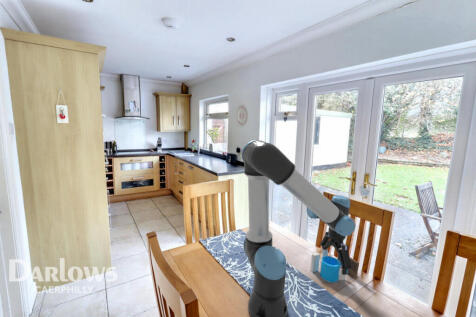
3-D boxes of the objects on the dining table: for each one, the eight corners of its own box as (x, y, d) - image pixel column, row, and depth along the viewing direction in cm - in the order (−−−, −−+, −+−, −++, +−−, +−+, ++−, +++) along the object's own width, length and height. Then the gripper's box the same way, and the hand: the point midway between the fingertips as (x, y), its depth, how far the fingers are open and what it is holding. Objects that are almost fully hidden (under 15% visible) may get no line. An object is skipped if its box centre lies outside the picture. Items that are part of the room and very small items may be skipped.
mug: (321, 280, 104) (323, 264, 103) (318, 269, 112) (320, 254, 111) (349, 285, 102) (351, 269, 101) (344, 273, 110) (346, 258, 108)
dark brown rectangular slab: (341, 265, 115) (343, 251, 114) (358, 277, 107) (360, 262, 106) (338, 267, 114) (340, 252, 113) (355, 278, 106) (357, 263, 105)
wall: (344, 265, 116) (346, 249, 114) (312, 272, 110) (314, 254, 108) (342, 264, 117) (344, 247, 116) (310, 270, 111) (312, 252, 110)
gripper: (364, 242, 93) (358, 287, 96) (328, 217, 117) (324, 254, 120) (349, 243, 91) (342, 289, 94) (315, 217, 115) (311, 255, 118)
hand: (332, 270), depth 107 cm, fingers open, 13 cm apart
